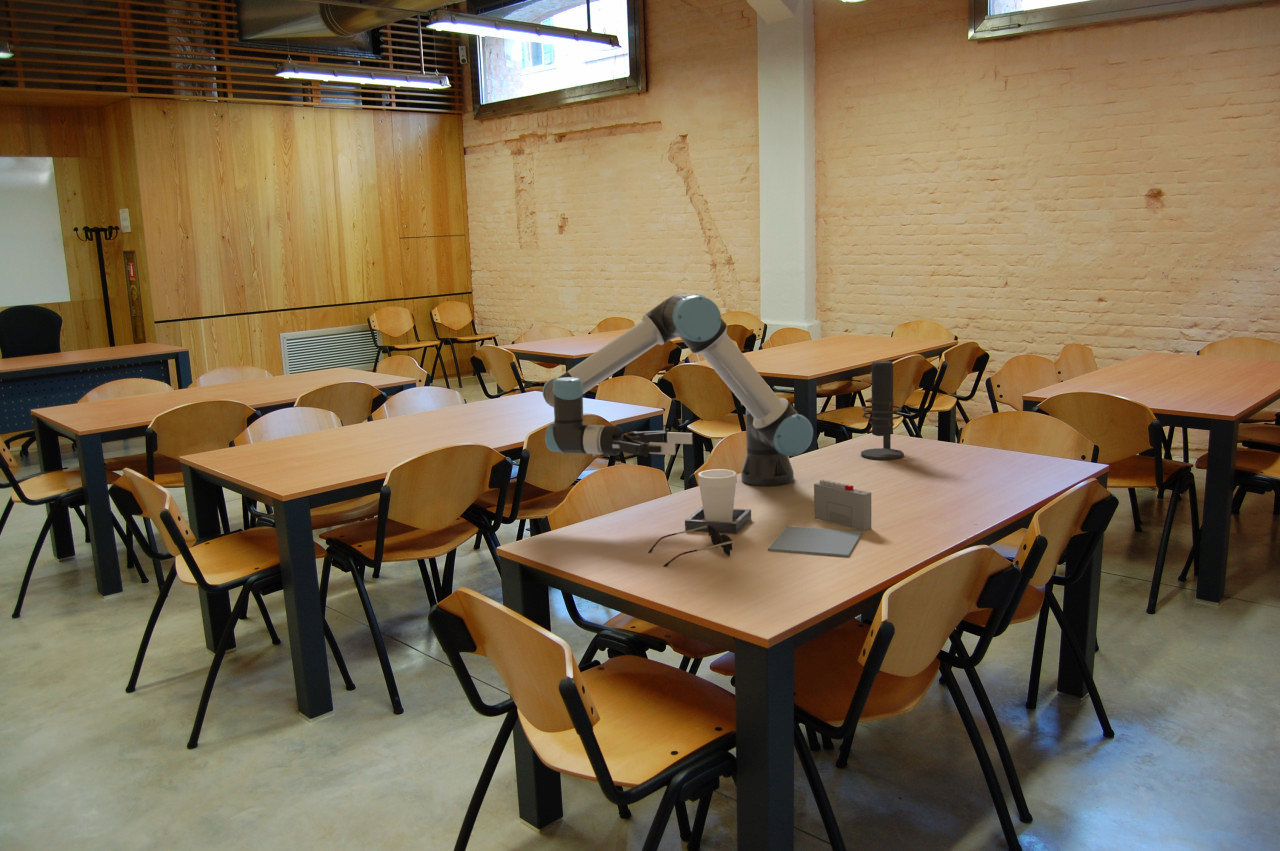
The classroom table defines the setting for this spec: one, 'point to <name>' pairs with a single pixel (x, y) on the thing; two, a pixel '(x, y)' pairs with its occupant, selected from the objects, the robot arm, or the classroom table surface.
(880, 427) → the microphone
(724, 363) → the robot arm
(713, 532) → the sunglasses
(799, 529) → the rubber mat
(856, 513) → the cassette player
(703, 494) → the foam cup
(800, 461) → the classroom table surface
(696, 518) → the holder collar
